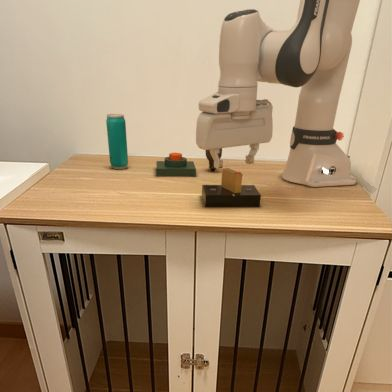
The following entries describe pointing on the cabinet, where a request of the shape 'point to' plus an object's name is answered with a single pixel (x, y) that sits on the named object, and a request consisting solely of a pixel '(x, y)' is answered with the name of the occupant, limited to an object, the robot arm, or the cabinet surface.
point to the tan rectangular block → (231, 180)
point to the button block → (176, 167)
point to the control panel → (230, 196)
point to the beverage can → (117, 141)
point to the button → (175, 156)
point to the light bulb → (210, 159)
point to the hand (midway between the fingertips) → (234, 165)
